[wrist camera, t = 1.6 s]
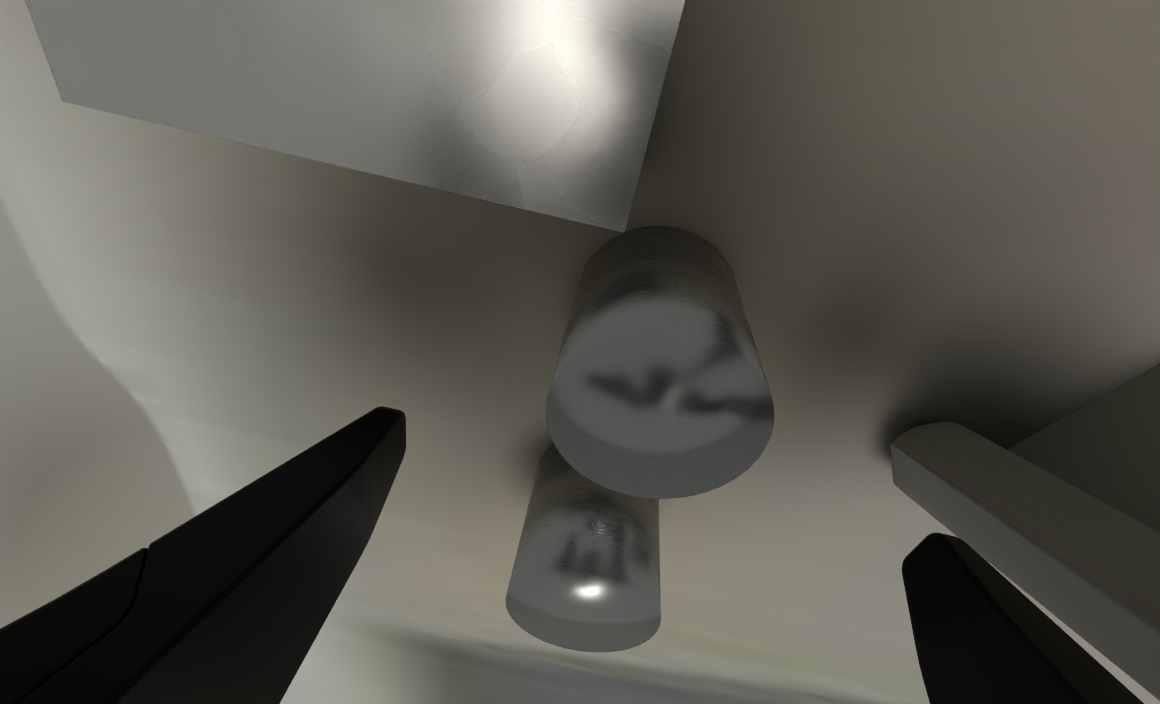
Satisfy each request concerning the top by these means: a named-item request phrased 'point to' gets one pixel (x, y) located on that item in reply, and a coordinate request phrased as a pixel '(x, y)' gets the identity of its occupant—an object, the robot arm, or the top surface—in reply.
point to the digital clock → (1061, 514)
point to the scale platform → (392, 86)
